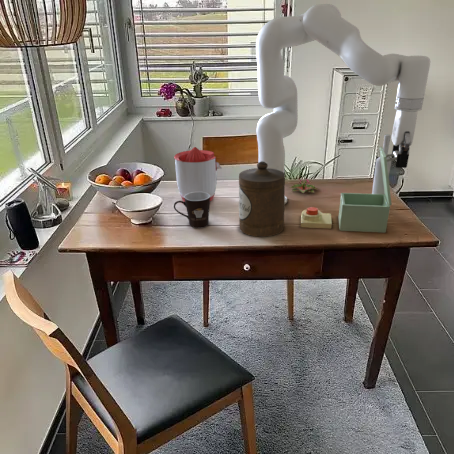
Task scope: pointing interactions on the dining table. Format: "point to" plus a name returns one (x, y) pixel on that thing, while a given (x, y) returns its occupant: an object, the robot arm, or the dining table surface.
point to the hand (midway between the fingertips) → (398, 162)
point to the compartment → (363, 212)
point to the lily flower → (303, 187)
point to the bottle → (378, 177)
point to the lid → (386, 171)
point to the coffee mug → (196, 208)
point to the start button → (312, 211)
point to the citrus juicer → (196, 172)
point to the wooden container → (261, 201)
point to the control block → (316, 220)
